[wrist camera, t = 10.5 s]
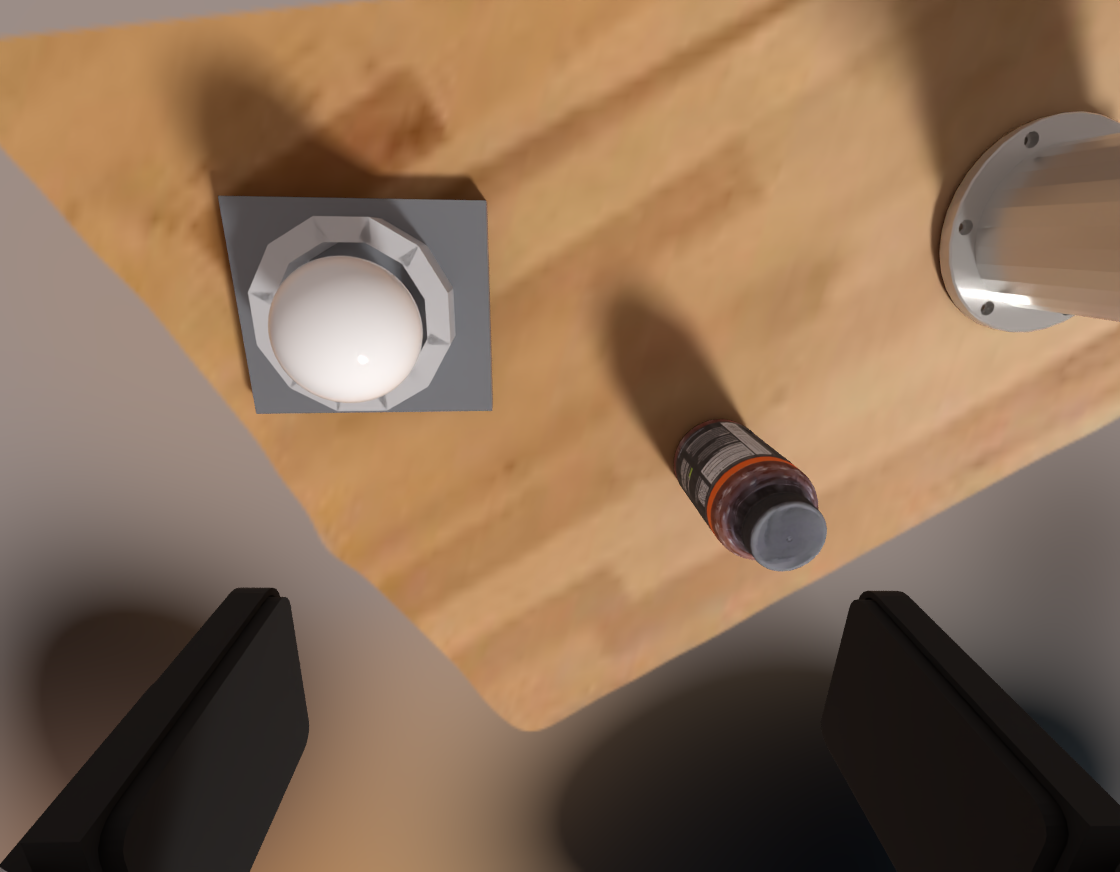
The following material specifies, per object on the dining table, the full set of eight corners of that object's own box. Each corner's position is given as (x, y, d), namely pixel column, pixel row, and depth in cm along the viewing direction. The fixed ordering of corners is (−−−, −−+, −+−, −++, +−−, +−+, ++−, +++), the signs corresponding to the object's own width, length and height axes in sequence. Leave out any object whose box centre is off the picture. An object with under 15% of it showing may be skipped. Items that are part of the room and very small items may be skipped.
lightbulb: (326, 244, 31) (234, 248, 21) (444, 258, 32) (412, 268, 21) (329, 358, 33) (246, 414, 23) (439, 368, 34) (407, 427, 23)
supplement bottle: (765, 476, 40) (858, 564, 29) (686, 508, 40) (750, 607, 29) (742, 401, 38) (833, 467, 27) (659, 436, 38) (717, 514, 27)
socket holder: (487, 202, 32) (483, 197, 28) (492, 403, 36) (490, 426, 32) (231, 197, 31) (187, 191, 27) (266, 406, 35) (233, 429, 31)
